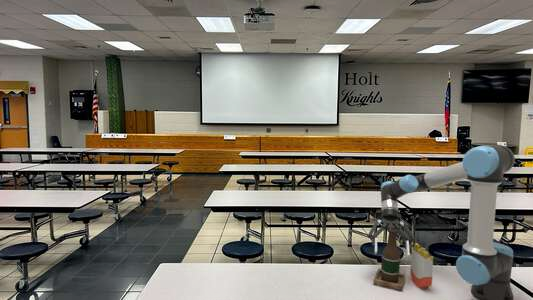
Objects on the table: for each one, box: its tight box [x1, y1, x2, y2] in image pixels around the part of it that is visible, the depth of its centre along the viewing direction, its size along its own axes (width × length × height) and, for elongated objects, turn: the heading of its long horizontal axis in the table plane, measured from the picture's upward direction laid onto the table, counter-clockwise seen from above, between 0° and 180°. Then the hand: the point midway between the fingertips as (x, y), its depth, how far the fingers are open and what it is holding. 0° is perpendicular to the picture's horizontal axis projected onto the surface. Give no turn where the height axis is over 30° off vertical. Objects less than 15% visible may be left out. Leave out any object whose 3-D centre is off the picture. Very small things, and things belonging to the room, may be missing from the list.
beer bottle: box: [380, 228, 401, 284], centre depth 158 cm, size 8×8×24 cm
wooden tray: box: [372, 268, 406, 293], centre depth 160 cm, size 12×12×2 cm
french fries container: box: [409, 242, 434, 289], centre depth 157 cm, size 5×11×18 cm, turn 5°
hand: (391, 254), depth 156 cm, fingers open, 13 cm apart
